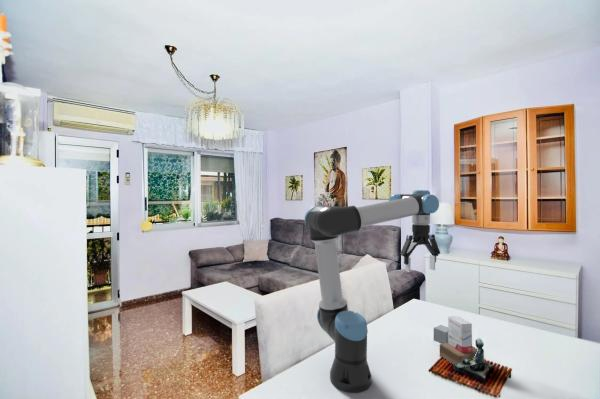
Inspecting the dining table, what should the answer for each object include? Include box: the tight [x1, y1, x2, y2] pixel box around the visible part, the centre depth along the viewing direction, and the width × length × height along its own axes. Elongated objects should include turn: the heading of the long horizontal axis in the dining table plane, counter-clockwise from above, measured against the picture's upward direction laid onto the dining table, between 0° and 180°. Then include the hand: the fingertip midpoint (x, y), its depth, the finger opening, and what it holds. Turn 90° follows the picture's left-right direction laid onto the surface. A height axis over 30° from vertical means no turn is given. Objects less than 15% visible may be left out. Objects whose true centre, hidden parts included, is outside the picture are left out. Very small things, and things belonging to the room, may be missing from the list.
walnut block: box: [439, 343, 479, 366], centre depth 125 cm, size 12×10×5 cm
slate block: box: [433, 324, 448, 344], centre depth 141 cm, size 6×6×6 cm
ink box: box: [447, 315, 473, 353], centre depth 125 cm, size 9×5×12 cm, turn 11°
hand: (420, 270), depth 136 cm, fingers open, 13 cm apart
